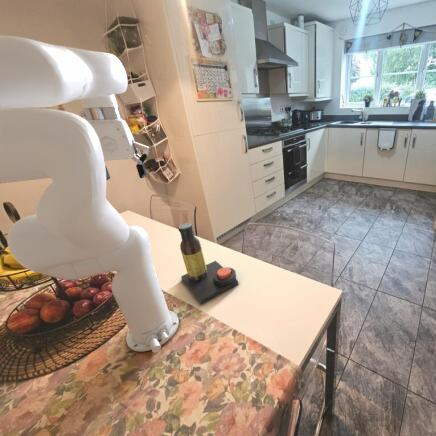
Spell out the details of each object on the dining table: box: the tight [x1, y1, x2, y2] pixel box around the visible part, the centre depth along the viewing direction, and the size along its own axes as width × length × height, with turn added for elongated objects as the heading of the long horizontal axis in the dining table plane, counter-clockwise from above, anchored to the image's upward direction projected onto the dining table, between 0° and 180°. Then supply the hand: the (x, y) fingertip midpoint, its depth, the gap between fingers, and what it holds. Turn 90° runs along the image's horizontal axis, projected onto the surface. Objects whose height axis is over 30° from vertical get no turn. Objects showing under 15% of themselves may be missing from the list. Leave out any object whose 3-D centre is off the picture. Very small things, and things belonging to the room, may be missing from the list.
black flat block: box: [180, 260, 239, 305], centre depth 83 cm, size 16×14×4 cm
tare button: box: [217, 267, 231, 279], centre depth 82 cm, size 4×4×2 cm
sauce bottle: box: [177, 222, 207, 281], centre depth 80 cm, size 6×6×20 cm
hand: (125, 178), depth 72 cm, fingers open, 9 cm apart
